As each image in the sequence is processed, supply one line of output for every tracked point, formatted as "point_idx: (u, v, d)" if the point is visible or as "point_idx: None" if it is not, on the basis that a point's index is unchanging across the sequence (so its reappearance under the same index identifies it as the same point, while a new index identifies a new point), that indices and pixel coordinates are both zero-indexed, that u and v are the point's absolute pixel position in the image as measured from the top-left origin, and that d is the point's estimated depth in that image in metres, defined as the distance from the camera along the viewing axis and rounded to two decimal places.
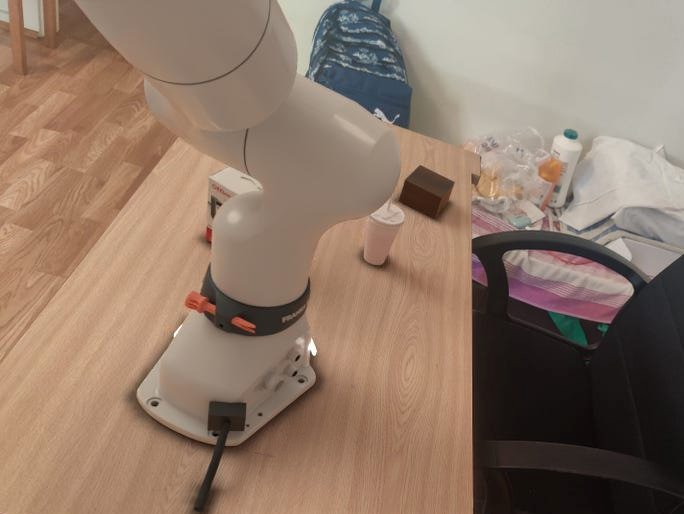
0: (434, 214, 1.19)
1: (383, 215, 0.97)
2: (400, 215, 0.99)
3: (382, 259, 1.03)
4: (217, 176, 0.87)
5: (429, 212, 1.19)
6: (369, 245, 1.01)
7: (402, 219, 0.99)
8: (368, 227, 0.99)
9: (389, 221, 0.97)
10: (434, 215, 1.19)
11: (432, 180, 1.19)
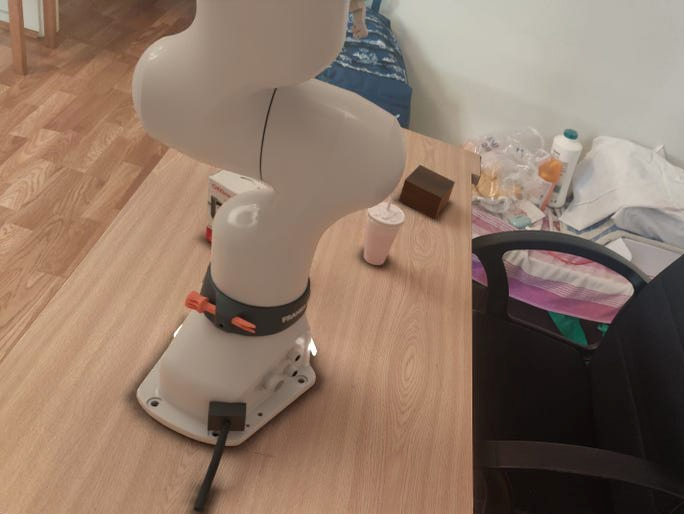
0: (434, 214, 1.19)
1: (383, 215, 0.97)
2: (400, 215, 0.99)
3: (382, 259, 1.03)
4: (217, 176, 0.87)
5: (429, 212, 1.19)
6: (369, 245, 1.01)
7: (402, 219, 0.99)
8: (368, 227, 0.99)
9: (389, 221, 0.97)
10: (434, 215, 1.19)
11: (432, 180, 1.19)
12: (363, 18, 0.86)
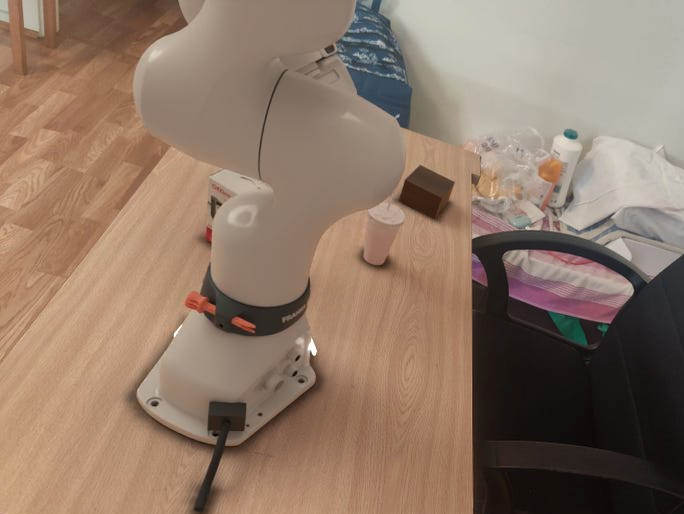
0: (434, 214, 1.19)
1: (383, 215, 0.97)
2: (400, 215, 0.99)
3: (382, 259, 1.03)
4: (217, 176, 0.87)
5: (429, 212, 1.19)
6: (369, 245, 1.01)
7: (402, 219, 0.99)
8: (368, 227, 0.99)
9: (389, 221, 0.97)
10: (434, 215, 1.19)
11: (432, 180, 1.19)
12: None
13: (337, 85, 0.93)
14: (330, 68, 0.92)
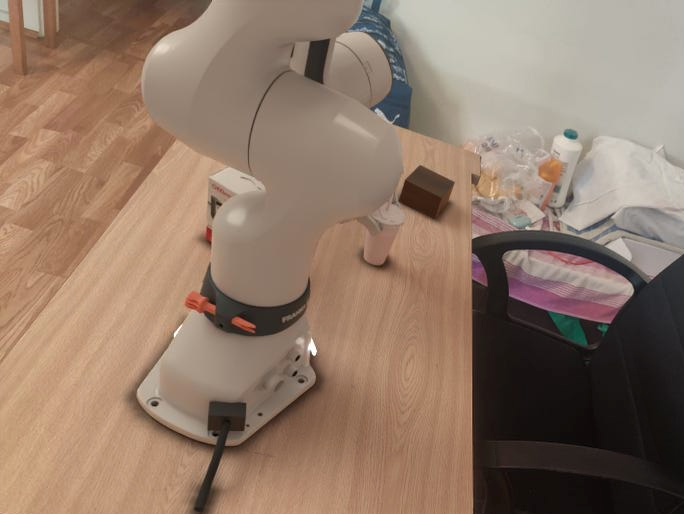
0: (434, 214, 1.19)
1: (383, 215, 0.97)
2: (400, 215, 0.99)
3: (382, 259, 1.03)
4: (217, 176, 0.87)
5: (429, 212, 1.19)
6: (369, 245, 1.01)
7: (402, 219, 0.99)
8: None
9: (389, 221, 0.97)
10: (434, 215, 1.19)
11: (432, 180, 1.19)
12: (396, 198, 1.01)
13: None
14: None
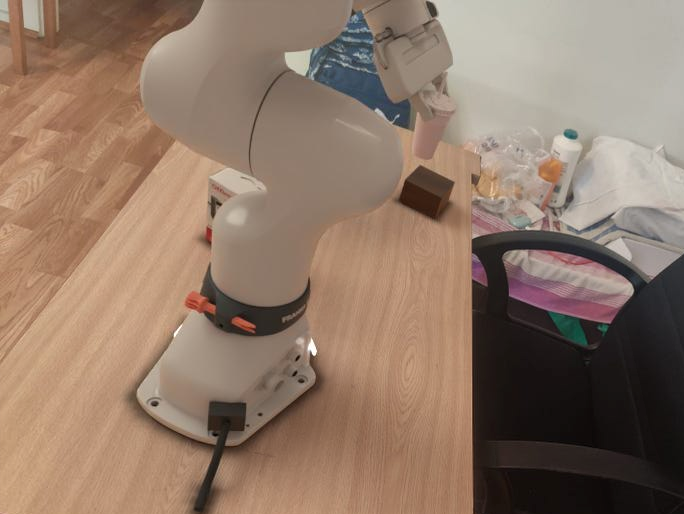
0: (434, 214, 1.19)
1: (435, 101, 0.95)
2: (452, 104, 0.97)
3: (431, 153, 1.01)
4: (217, 176, 0.87)
5: (429, 212, 1.19)
6: (418, 136, 0.99)
7: (453, 107, 0.96)
8: (419, 115, 0.97)
9: (441, 107, 0.95)
10: (434, 215, 1.19)
11: (432, 180, 1.19)
12: (446, 88, 0.99)
13: (438, 49, 0.97)
14: (432, 33, 0.96)
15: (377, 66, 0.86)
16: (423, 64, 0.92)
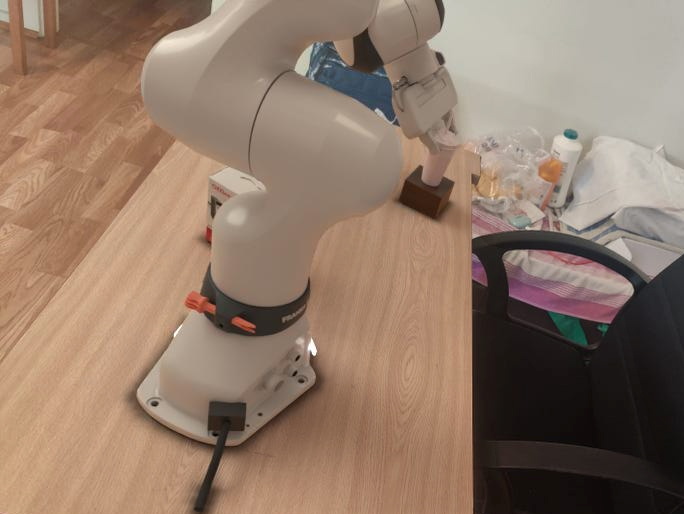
0: (434, 214, 1.19)
1: (442, 138, 1.11)
2: (456, 139, 1.14)
3: (438, 180, 1.18)
4: (217, 176, 0.87)
5: (429, 212, 1.19)
6: (428, 167, 1.15)
7: (458, 142, 1.13)
8: None
9: (447, 143, 1.11)
10: (434, 215, 1.19)
11: None
12: (454, 122, 1.16)
13: (445, 91, 1.13)
14: (440, 77, 1.12)
15: (395, 109, 1.02)
16: (433, 106, 1.08)
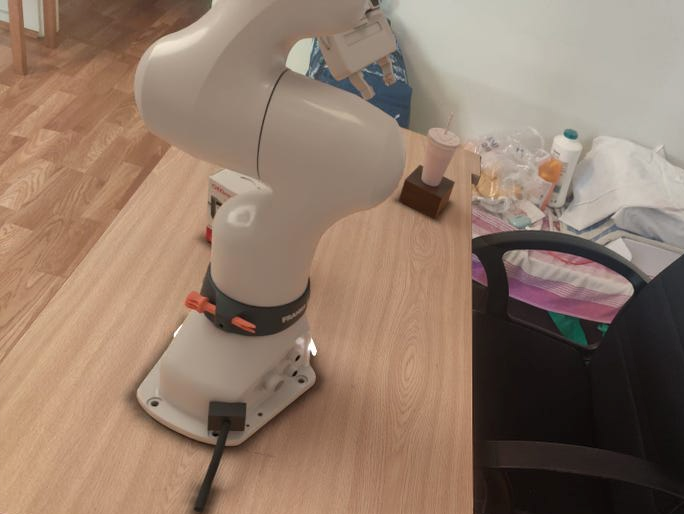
0: (434, 214, 1.19)
1: (442, 138, 1.11)
2: (456, 139, 1.14)
3: (438, 180, 1.18)
4: (217, 176, 0.87)
5: (429, 212, 1.19)
6: (428, 167, 1.15)
7: (458, 142, 1.13)
8: (428, 149, 1.13)
9: (447, 143, 1.11)
10: (434, 215, 1.19)
11: None
12: (391, 69, 1.11)
13: (380, 35, 1.08)
14: (375, 20, 1.07)
15: (321, 47, 0.97)
16: (365, 47, 1.03)
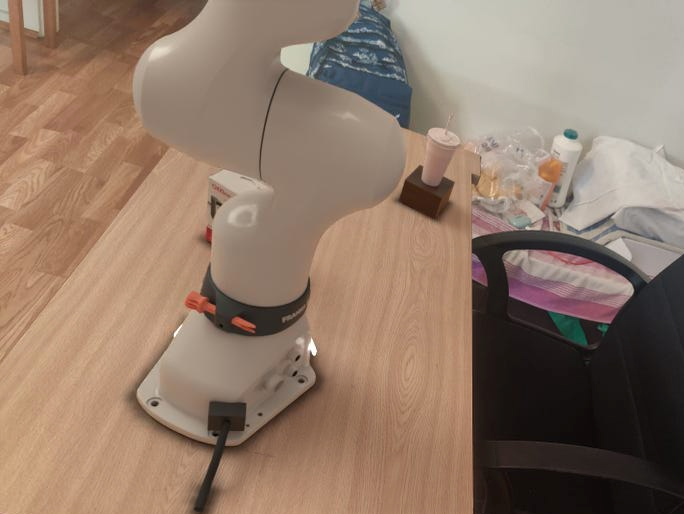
0: (434, 214, 1.19)
1: (442, 138, 1.11)
2: (456, 139, 1.14)
3: (438, 180, 1.18)
4: (217, 176, 0.87)
5: (429, 212, 1.19)
6: (428, 167, 1.15)
7: (458, 142, 1.13)
8: (428, 149, 1.13)
9: (447, 143, 1.11)
10: (434, 215, 1.19)
11: None
12: None
13: None
14: None
15: None
16: None
